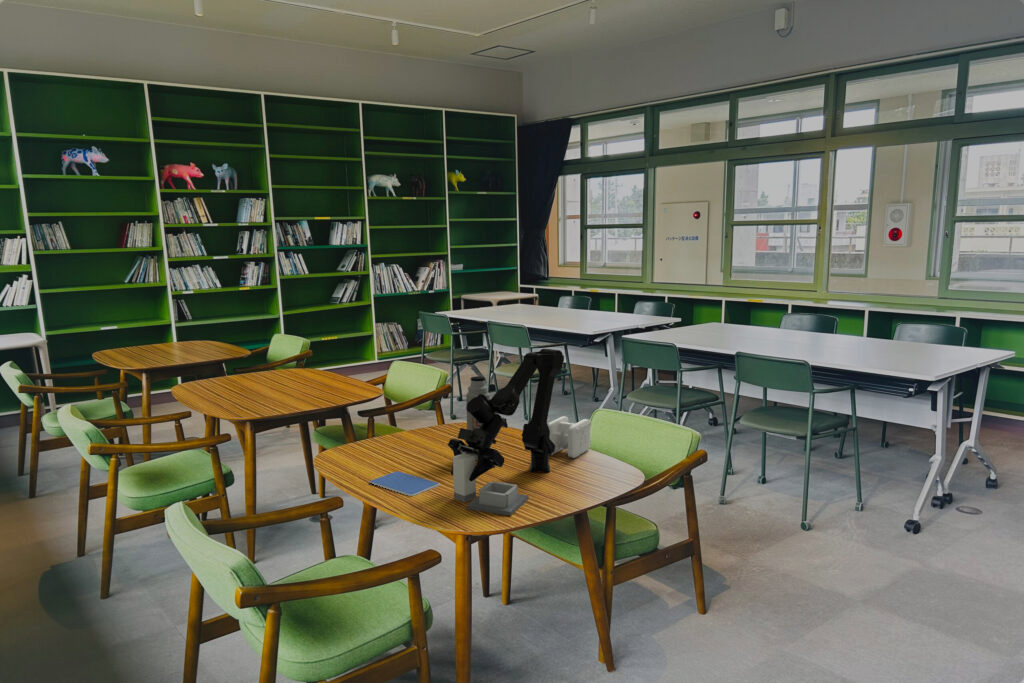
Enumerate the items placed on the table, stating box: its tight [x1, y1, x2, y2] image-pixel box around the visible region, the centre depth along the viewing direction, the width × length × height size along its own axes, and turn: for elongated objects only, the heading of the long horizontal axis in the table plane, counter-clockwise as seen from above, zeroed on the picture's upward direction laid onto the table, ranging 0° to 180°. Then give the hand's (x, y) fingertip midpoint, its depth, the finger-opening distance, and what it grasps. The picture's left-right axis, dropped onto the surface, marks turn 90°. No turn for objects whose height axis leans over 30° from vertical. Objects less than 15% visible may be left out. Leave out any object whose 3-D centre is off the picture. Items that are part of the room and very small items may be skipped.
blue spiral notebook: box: [368, 470, 441, 497], centre depth 206 cm, size 19×13×1 cm, turn 53°
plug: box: [452, 453, 477, 503], centre depth 193 cm, size 4×4×12 cm
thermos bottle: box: [465, 375, 492, 462], centre depth 229 cm, size 8×8×28 cm
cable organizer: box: [547, 415, 592, 459], centre depth 235 cm, size 15×11×12 cm
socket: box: [466, 481, 530, 516], centre depth 189 cm, size 13×13×5 cm
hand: (461, 477), depth 192 cm, fingers open, 7 cm apart
